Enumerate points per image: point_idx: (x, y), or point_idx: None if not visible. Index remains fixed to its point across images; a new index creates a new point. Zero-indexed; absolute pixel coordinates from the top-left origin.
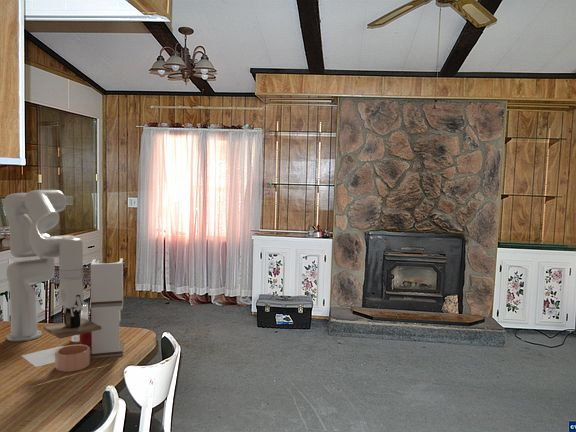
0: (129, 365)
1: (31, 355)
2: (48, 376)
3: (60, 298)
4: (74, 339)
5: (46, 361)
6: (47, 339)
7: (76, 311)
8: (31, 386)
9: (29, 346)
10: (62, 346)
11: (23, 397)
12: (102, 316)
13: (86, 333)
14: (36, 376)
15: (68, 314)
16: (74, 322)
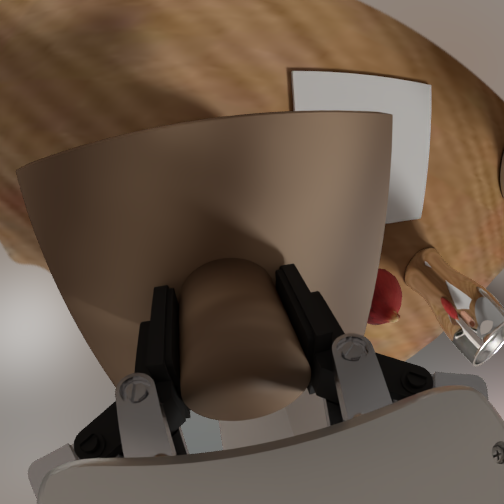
0: None
1: (413, 108)
2: (164, 88)
3: (453, 494)
4: (424, 258)
5: None
6: (481, 201)
7: (76, 448)
8: (106, 26)
9: (475, 143)
10: (415, 214)
11: (39, 10)
12: (256, 435)
13: (375, 305)
14: (196, 50)
15: (245, 366)
16: (139, 340)
